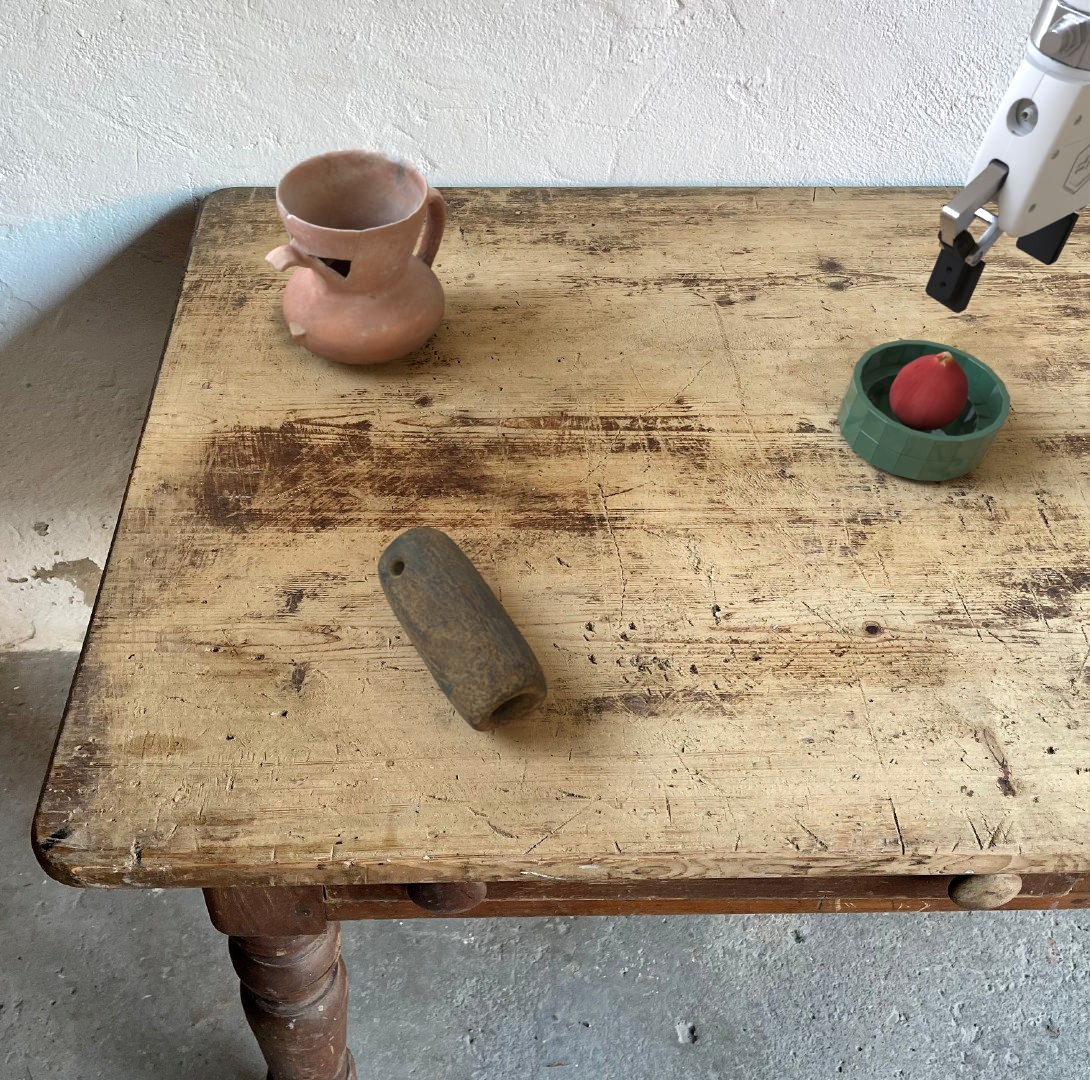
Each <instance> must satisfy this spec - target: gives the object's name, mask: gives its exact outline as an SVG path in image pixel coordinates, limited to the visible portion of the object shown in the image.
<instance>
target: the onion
mask: <svg viewBox="0 0 1090 1080" xmlns="http://www.w3.org/2000/svg"><path fill="white" fill-rule="evenodd" d="M889 398H890V406H891V410H892V412H893V413H894V415H895V416H896V418H897V419H898V420H899V421H900V422H901V423H902V424H903V425H904V426H906V427H908V428H910V429H912V430H916V431H930V430H937V429H940V428H942V427H945V426H947V425H948V424H950V423H952V422H954V420H955V419H956V418H957V417H958V416H959V415H960V413H961V411H962V410H963V408H964V407H965V404H966V401H967V398H968V380H967V376H966V374H965V373H964V371H963V369H962V367H961V365H960V364H959V363H958V362H957V361H956V360H954V359H953V356H952V355H951V354H950V353H949V352H942V353H940V354H932V355H927V356H923V357H920V358H918V359H916V360H914V361H912V362H911V363H909V364H907V365H906V366H905V367H903V368H902V370H901V371H900V372H899V373H898V375H897V377H896V379H895V380H894V382H893V384H892V386H891V389H890V394H889Z"/></svg>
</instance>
